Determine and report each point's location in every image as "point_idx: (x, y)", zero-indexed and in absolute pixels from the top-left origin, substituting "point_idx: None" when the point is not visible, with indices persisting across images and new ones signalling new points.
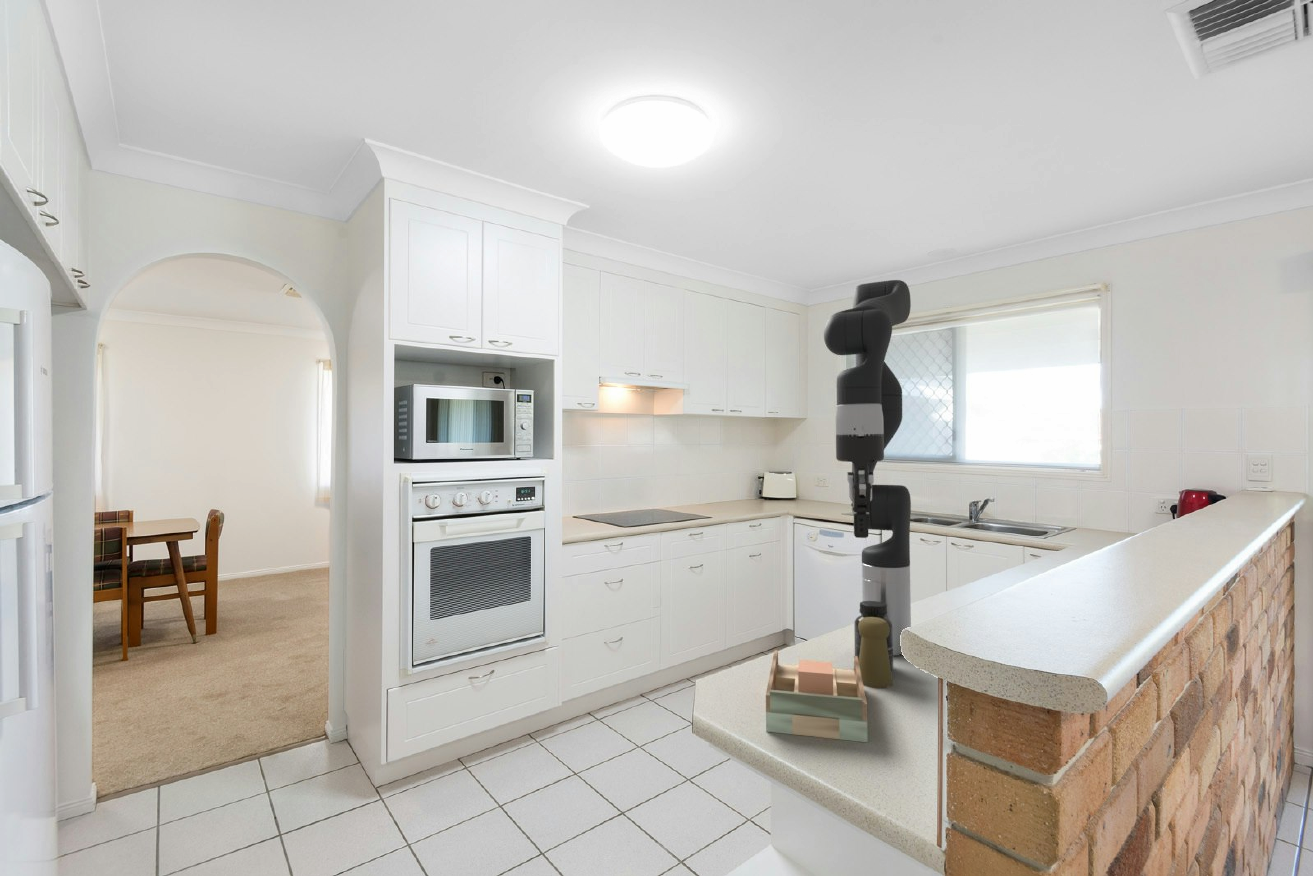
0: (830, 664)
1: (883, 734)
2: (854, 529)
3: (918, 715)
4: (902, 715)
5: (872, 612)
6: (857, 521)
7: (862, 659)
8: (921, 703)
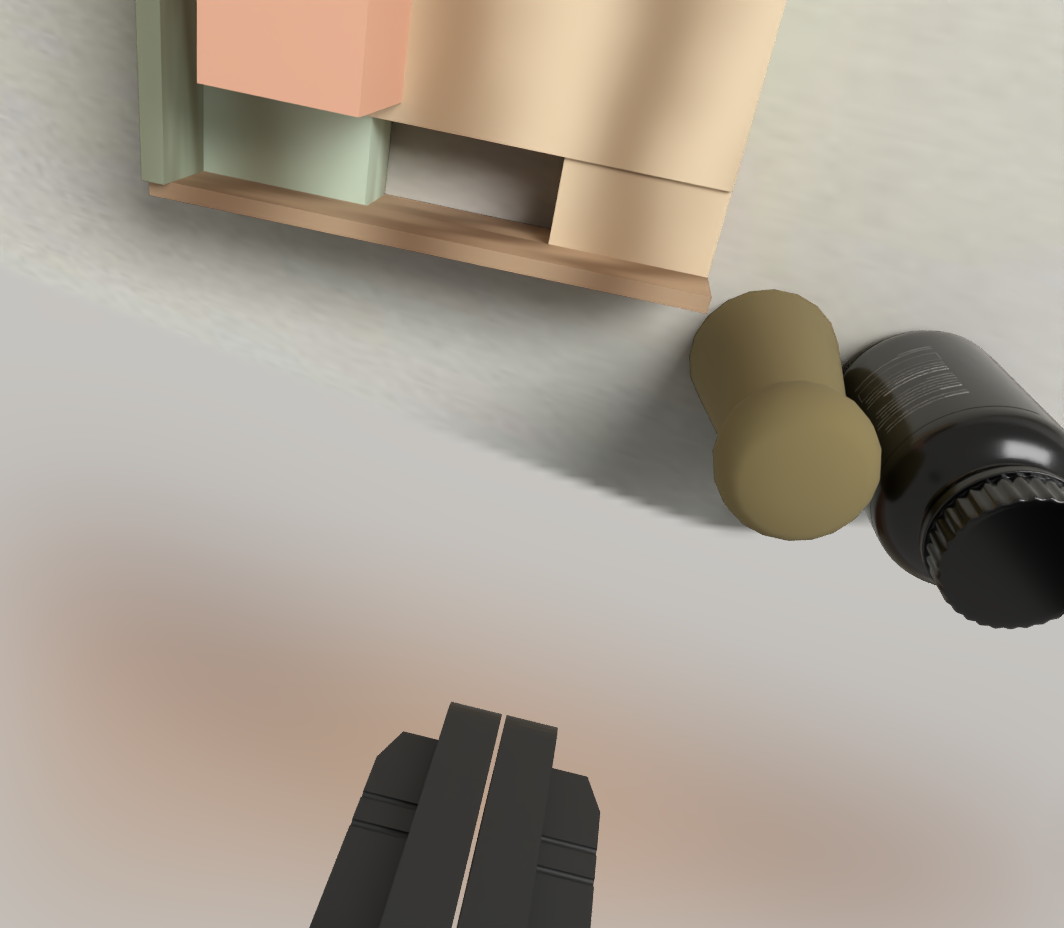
0: (328, 100)
1: (287, 245)
2: (434, 765)
3: (448, 409)
4: (443, 357)
5: (939, 521)
6: (333, 879)
7: (755, 340)
8: (547, 454)
